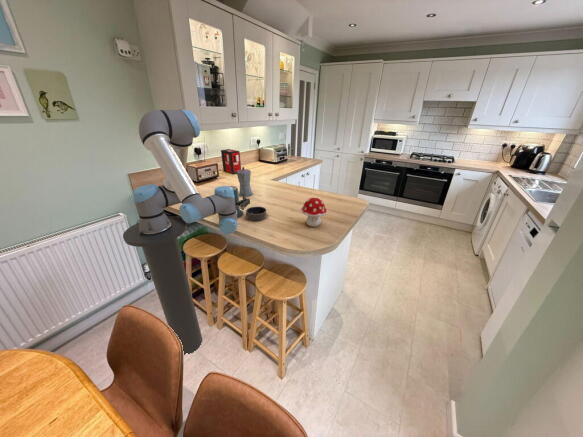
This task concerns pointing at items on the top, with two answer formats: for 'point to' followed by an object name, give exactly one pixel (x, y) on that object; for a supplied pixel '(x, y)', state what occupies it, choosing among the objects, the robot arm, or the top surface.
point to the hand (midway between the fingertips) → (231, 197)
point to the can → (236, 196)
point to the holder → (256, 213)
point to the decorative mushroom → (314, 211)
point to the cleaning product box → (231, 161)
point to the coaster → (240, 214)
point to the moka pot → (244, 182)
